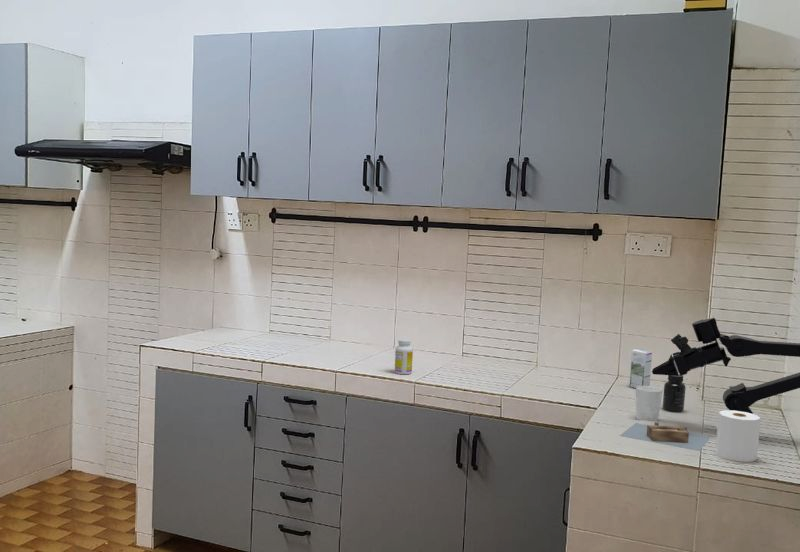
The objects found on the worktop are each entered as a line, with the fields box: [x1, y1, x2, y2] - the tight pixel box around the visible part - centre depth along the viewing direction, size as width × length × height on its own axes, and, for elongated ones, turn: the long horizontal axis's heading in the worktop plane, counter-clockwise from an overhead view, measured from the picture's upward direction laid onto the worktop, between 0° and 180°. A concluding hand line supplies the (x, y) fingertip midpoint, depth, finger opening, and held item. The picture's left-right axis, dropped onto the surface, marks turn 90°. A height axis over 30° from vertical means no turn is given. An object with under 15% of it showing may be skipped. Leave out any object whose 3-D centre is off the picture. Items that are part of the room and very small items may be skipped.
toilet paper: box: [715, 409, 761, 463], centre depth 213 cm, size 10×10×12 cm
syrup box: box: [629, 348, 653, 390], centre depth 297 cm, size 6×6×14 cm
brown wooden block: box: [646, 424, 690, 443], centre depth 227 cm, size 10×6×3 cm, turn 89°
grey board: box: [619, 421, 712, 452], centre depth 230 cm, size 22×18×3 cm
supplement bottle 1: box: [394, 338, 414, 375], centre depth 304 cm, size 7×7×13 cm
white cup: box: [635, 385, 663, 422], centre depth 251 cm, size 8×8×10 cm
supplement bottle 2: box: [662, 373, 687, 413], centre depth 265 cm, size 7×7×12 cm
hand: (652, 371), depth 243 cm, fingers open, 9 cm apart
